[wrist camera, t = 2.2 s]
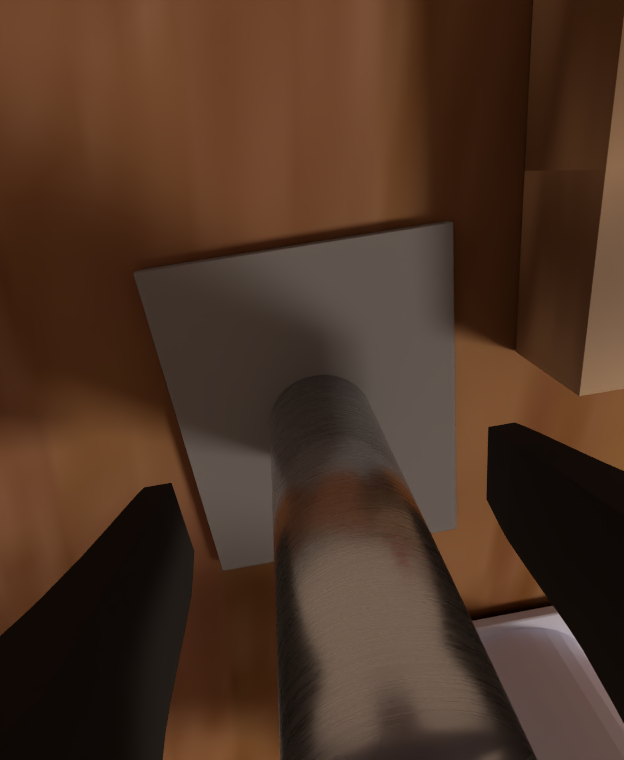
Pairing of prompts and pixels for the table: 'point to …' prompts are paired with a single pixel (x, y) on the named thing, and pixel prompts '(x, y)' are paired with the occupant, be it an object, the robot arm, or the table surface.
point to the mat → (308, 363)
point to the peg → (369, 601)
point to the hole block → (574, 196)
